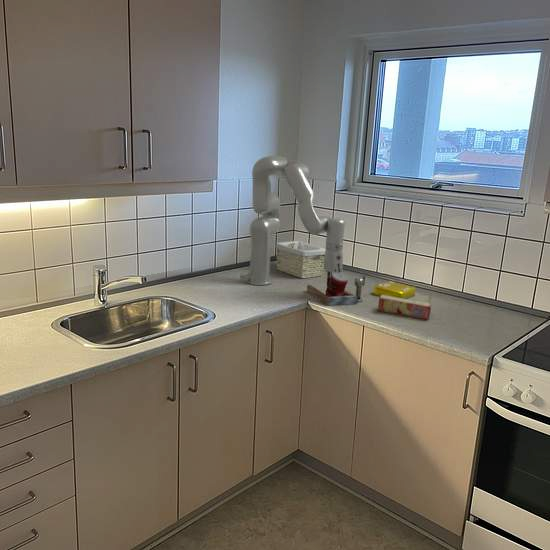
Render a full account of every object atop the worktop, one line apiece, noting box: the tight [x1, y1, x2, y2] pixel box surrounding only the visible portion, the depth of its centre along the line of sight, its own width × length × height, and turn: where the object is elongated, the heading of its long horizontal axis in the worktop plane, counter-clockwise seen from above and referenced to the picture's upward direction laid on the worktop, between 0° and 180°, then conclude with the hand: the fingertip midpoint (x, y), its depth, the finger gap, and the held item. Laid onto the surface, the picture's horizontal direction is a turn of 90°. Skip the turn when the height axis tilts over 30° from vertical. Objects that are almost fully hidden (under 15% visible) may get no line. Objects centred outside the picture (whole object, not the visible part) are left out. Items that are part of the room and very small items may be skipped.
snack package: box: [377, 295, 432, 320], centre depth 231 cm, size 21×7×7 cm, turn 68°
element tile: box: [373, 280, 416, 300], centre depth 258 cm, size 15×15×5 cm
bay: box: [306, 284, 358, 307], centre depth 248 cm, size 14×22×4 cm, turn 21°
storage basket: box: [275, 240, 326, 279], centre depth 287 cm, size 24×16×15 cm
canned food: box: [324, 271, 349, 297], centre depth 244 cm, size 8×8×11 cm
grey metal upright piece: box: [353, 275, 366, 303], centre depth 244 cm, size 4×4×11 cm
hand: (330, 286), depth 250 cm, fingers closed
